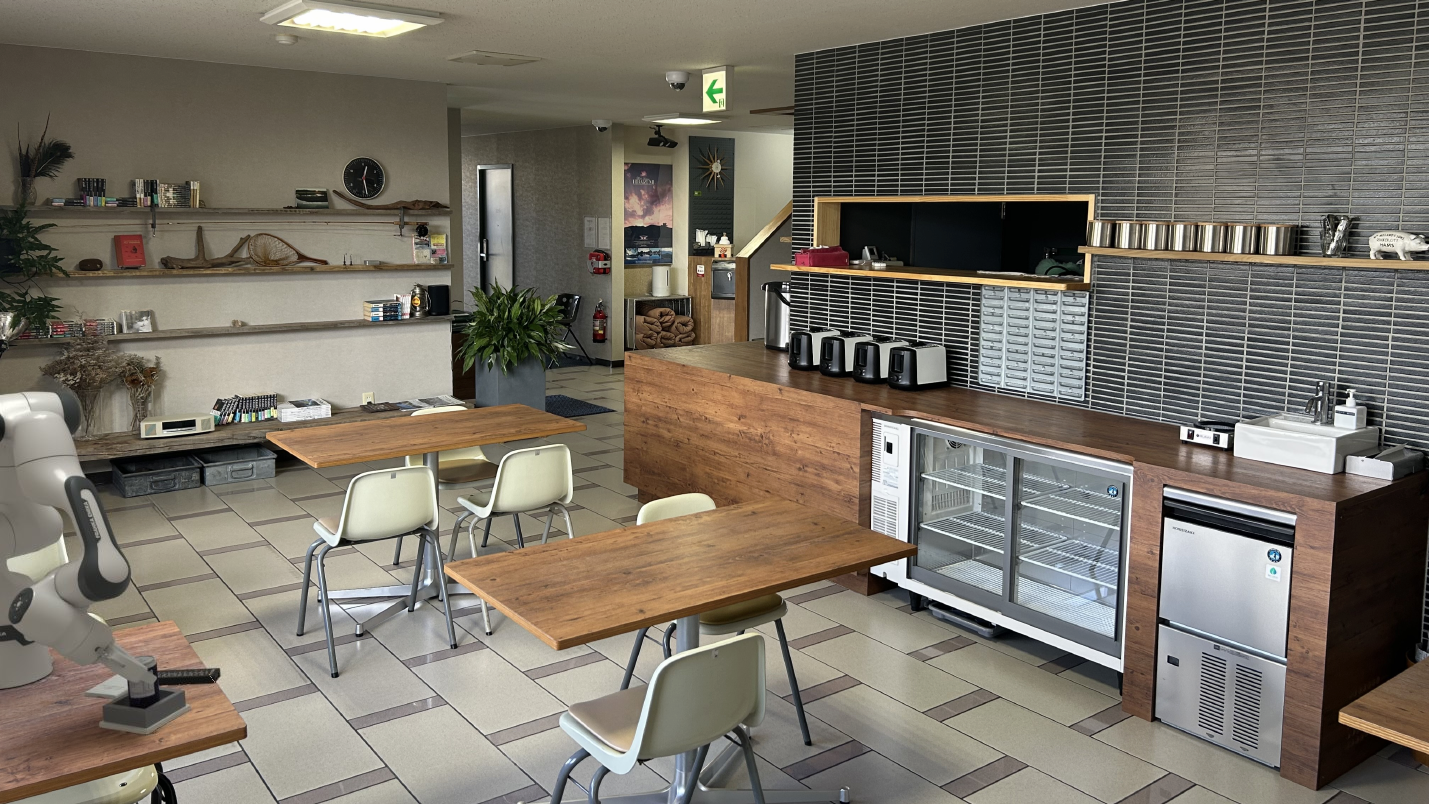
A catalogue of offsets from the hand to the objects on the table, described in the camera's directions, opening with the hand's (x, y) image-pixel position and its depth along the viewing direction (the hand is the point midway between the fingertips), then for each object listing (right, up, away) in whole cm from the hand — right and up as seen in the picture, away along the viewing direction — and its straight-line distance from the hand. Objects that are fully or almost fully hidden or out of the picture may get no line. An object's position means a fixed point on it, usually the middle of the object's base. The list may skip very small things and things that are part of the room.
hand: (145, 673), depth 220 cm
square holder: (0, -10, +1) cm, 10 cm away
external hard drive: (-15, -8, +17) cm, 24 cm away
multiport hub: (-2, -7, +20) cm, 21 cm away
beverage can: (0, -9, +1) cm, 9 cm away
